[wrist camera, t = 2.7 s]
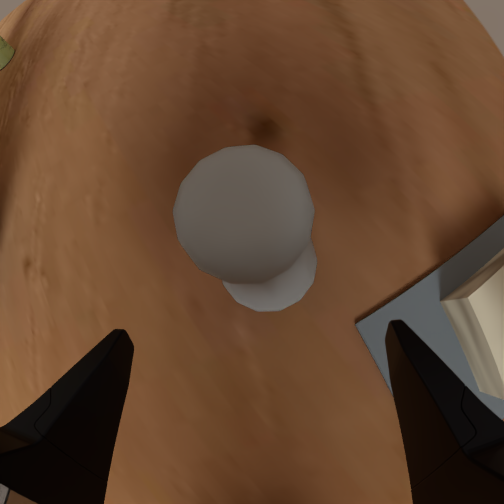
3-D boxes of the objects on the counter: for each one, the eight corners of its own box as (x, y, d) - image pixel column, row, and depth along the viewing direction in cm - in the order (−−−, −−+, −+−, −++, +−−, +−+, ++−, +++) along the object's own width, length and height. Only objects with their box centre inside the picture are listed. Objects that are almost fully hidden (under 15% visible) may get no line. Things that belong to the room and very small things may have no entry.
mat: (430, 473, 17) (431, 475, 16) (354, 324, 20) (355, 324, 20) (572, 337, 16) (574, 337, 16) (517, 202, 20) (519, 201, 19)
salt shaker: (219, 238, 22) (133, 144, 10) (300, 216, 22) (305, 94, 9) (238, 322, 21) (158, 327, 8) (323, 300, 20) (370, 274, 8)
